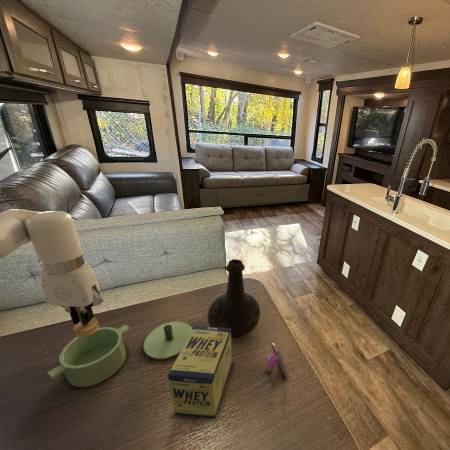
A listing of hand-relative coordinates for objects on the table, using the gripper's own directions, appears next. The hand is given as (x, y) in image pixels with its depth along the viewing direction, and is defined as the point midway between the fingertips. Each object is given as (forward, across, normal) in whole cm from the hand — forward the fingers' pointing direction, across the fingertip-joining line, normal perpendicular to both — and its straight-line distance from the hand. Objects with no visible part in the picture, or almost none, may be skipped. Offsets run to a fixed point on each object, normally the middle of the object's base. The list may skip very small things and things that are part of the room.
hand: (84, 320), depth 66 cm
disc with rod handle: (+4, 0, 0) cm, 4 cm away
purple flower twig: (+17, +52, 0) cm, 55 cm away
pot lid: (+17, +16, +9) cm, 25 cm away
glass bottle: (+17, +37, +16) cm, 43 cm away
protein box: (+17, +33, -6) cm, 38 cm away
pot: (+17, 0, 0) cm, 17 cm away
